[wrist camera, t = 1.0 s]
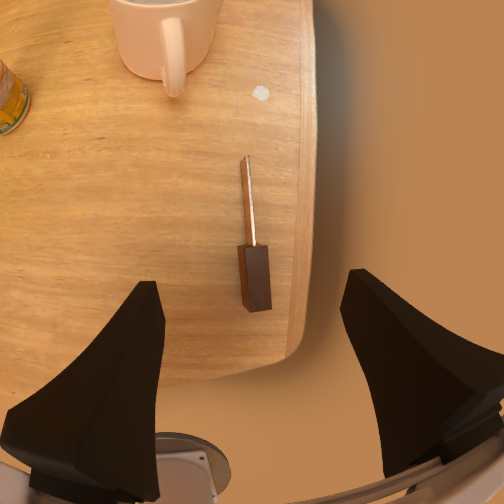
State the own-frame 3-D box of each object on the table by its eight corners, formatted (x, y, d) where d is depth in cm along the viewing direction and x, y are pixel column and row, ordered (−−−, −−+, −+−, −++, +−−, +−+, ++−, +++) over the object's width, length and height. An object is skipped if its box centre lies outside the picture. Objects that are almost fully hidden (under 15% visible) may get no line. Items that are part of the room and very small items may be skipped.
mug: (222, 111, 23) (253, 45, 13) (126, 129, 21) (99, 66, 11) (203, 15, 22) (221, -58, 12) (121, 27, 20) (110, -46, 10)
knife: (263, 302, 25) (272, 309, 23) (242, 305, 24) (249, 313, 22) (252, 161, 24) (260, 153, 22) (231, 161, 23) (237, 154, 21)
